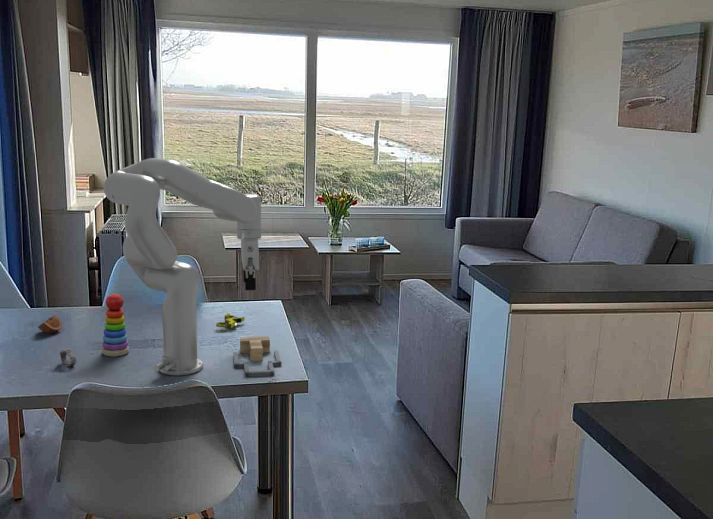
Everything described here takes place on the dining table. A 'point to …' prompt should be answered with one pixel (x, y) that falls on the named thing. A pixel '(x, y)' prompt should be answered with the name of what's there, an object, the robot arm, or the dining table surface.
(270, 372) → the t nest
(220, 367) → the dining table surface
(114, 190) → the robot arm
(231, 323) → the toy motorcycle
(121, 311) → the stacking toy
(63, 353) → the wristwatch
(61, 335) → the dining table surface
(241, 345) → the oak t block
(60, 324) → the fruit slice
